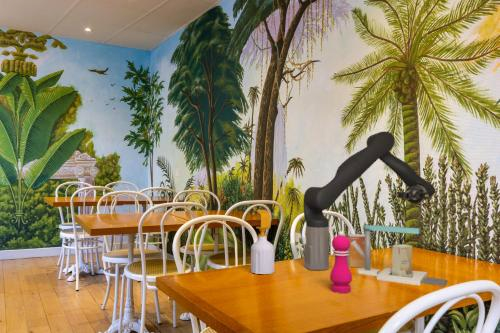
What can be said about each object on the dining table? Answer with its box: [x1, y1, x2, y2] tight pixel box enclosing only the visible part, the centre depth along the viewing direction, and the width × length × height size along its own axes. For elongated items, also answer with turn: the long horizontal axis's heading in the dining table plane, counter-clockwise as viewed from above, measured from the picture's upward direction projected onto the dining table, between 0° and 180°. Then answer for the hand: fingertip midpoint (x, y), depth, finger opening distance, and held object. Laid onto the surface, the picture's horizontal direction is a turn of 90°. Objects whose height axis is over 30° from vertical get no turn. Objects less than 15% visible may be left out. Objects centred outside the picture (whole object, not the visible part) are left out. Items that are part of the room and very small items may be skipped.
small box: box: [347, 233, 365, 268], centre depth 179 cm, size 8×6×13 cm
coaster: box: [422, 276, 448, 287], centre depth 154 cm, size 7×7×1 cm
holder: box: [357, 230, 428, 286], centre depth 162 cm, size 24×15×17 cm, turn 58°
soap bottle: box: [250, 209, 275, 275], centre depth 168 cm, size 9×9×25 cm
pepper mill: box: [329, 230, 353, 294], centre depth 143 cm, size 7×7×20 cm
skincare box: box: [391, 243, 413, 278], centre depth 160 cm, size 6×4×12 cm
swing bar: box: [362, 223, 421, 235], centre depth 162 cm, size 21×3×2 cm, turn 58°
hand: (407, 196), depth 168 cm, fingers closed
